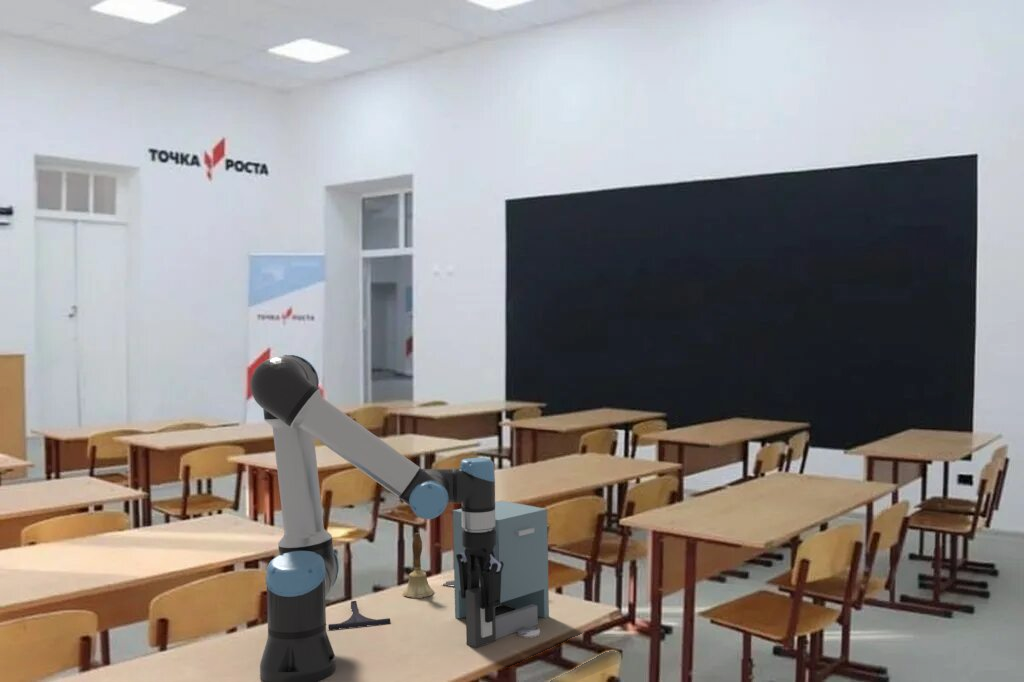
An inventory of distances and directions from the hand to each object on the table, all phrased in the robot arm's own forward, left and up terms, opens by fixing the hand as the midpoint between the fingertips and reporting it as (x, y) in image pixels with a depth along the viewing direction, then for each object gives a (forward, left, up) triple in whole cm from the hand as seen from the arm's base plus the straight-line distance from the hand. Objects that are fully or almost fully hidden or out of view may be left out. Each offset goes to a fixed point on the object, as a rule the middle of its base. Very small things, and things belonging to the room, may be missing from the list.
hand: (481, 633), depth 200 cm
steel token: (+11, -4, -2) cm, 12 cm away
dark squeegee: (-9, +35, -3) cm, 36 cm away
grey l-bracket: (+7, 0, -2) cm, 7 cm away
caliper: (+27, +31, -3) cm, 41 cm away
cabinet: (+15, +9, -2) cm, 18 cm away
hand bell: (+13, +39, -2) cm, 41 cm away
